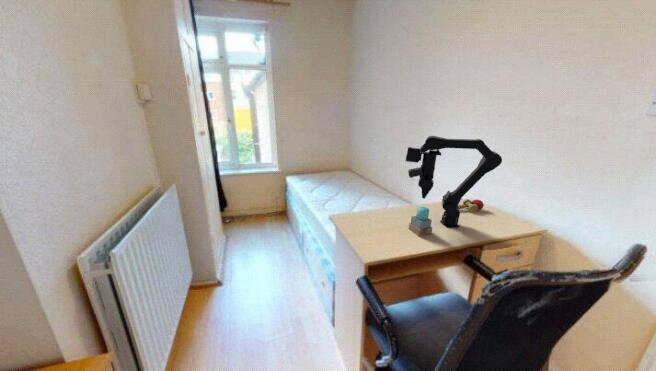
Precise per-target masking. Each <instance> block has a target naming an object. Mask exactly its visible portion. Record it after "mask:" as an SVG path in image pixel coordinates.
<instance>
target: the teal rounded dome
mask: <svg viewBox="0 0 656 371" xmlns="http://www.w3.org/2000/svg"><path fill="white" fill-rule="evenodd" d="M429 214H430V209H429V208H428V207H425V206H418V207H417V208H416V213H415V216H416V219H418V220H421V221H427V220H428V218H429Z"/></svg>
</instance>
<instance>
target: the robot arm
mask: <svg viewBox="0 0 656 371" xmlns="http://www.w3.org/2000/svg"><path fill="white" fill-rule="evenodd" d="M424 141H425V142H424V143H423V145H421V146H420V148H419V147H412V146H408V147H407V152H406V155H405V162H409V163H419V162H421V161H422V162H421V164H420V167H415V168H409V169H408V171H407V174H408V176H409V178H410V179H411V178H414V177H419V179H418V187H419V188H420V189H421V198H422V199H426V197H427V195H429V193H430V192H431V190H432V188H433V187H434V183H435V182H434V176H435V174H434V173H435V170H436V161H437V156H442V152H441V151H440V150H443V149H465V150H467V149H468V150H477V151H478V152H479V153H480V154H481V155H482V157H481V159H480V160H479V162H478V164H477V167H475V169H474V170H473V171H472V172H470V174H469V175H468V176H467V177H466V178H465V179H464V180H463V182H461V183H460V184H459V185H458V186H457V187H456V189H455V190H453V191H450V190H447V191H446V193H445V194H444V195H442V199H441V206H442V209H443V210H444V211H443V214H442V216H441V219H440V221H439V222H440V223H441V224H442V225H444V227H446V228H460V224H459V219H460V217H461V211H460V209H459V207H458V205H460V202H461V200H462V198H463V197H464V196H465V195H466V194H467V193H468V192H469V191H471V189H472V188H473V187H474V186H475V185H476V184H477V183H478V182H479V181H480V180H481V179H482V178H483V177H484V176H485V175H486V174H488V173H490V172H491V171H493V170H495V169H496V168H497V167H499V166H501V164H502V162H503V158H502V156H501V155H500V154H499V153H498V152H496V151H495V150H494V151H493V150H491V148H490V147H488V145H487V144H485V142H484V141H483V140H482V139H480V138H476V139H471V138H469V139H466V138H445V137H443V136H437V135H429V136H428V137H427V138H426V139H425V140H424Z"/></svg>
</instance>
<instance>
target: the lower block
mask: <svg viewBox="0 0 656 371" xmlns="http://www.w3.org/2000/svg"><path fill="white" fill-rule="evenodd" d="M408 230H409V231H411V232H412V234H415V235H416V236H417V237H424V236H429V235H432V233H433V227H432V226H431V227H429V228H424V229H418V228H417V227H415V226H414V225H412V224H411V222H409V225H408Z"/></svg>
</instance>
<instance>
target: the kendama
mask: <svg viewBox="0 0 656 371" xmlns="http://www.w3.org/2000/svg"><path fill="white" fill-rule="evenodd" d="M484 206H485V204H484V202H483V201H482V200H481V199H473V200H472V201H471V199H464V200H463V201H462V204H458V207H459V210H463V209H467V210H468V212H470V213H475V212H477V211H481V210H482V209H483V208H484Z"/></svg>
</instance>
